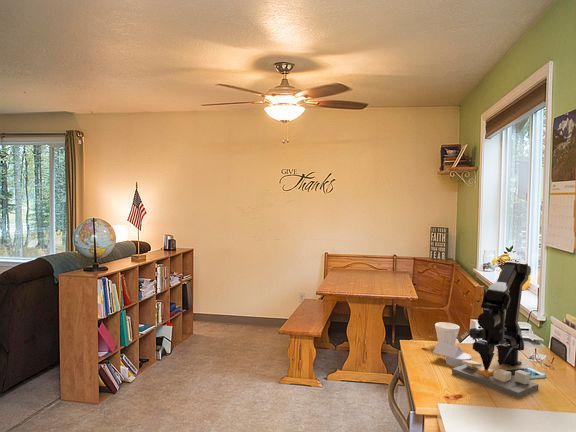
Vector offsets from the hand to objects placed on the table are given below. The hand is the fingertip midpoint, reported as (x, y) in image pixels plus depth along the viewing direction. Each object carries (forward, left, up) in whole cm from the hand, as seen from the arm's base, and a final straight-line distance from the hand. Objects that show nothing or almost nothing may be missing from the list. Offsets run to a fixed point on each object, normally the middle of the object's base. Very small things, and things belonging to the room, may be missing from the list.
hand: (493, 367), depth 164 cm
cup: (-14, -29, -3) cm, 32 cm away
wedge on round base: (0, -16, -3) cm, 16 cm away
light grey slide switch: (+2, +12, -1) cm, 12 cm away
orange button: (+5, 0, -2) cm, 6 cm away
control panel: (+5, +3, -3) cm, 7 cm away
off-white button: (+5, +6, -1) cm, 8 cm away
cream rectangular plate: (+5, -5, 0) cm, 7 cm away
